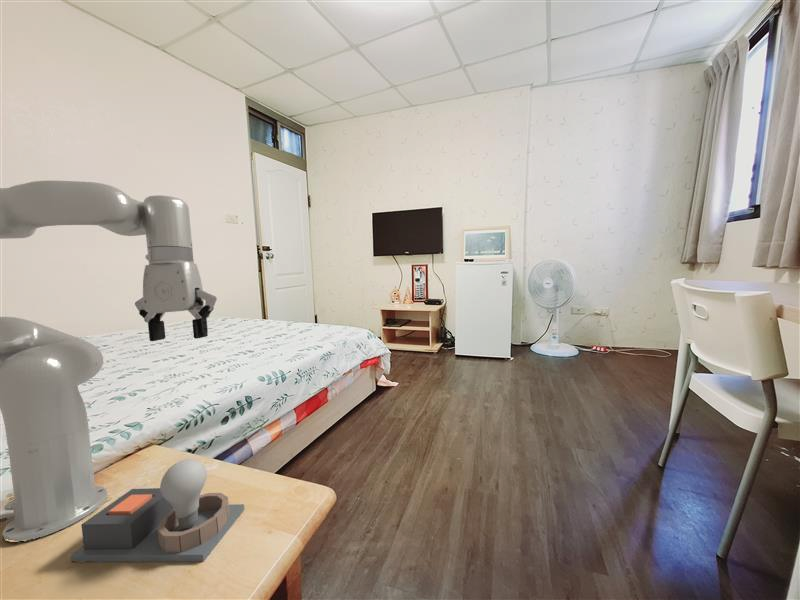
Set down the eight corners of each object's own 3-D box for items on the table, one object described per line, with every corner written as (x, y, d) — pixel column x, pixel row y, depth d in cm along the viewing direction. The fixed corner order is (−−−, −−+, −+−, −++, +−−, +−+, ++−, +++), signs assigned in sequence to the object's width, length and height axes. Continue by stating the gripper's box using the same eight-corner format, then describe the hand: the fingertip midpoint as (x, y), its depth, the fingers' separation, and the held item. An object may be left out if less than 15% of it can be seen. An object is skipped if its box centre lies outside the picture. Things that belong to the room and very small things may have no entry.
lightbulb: (188, 545, 45) (181, 474, 44) (155, 541, 46) (147, 472, 45) (219, 514, 51) (213, 451, 50) (190, 511, 52) (183, 450, 51)
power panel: (71, 562, 44) (67, 529, 44) (135, 511, 54) (132, 485, 54) (203, 561, 43) (200, 528, 43) (244, 509, 53) (241, 482, 53)
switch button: (110, 535, 47) (108, 511, 47) (133, 517, 51) (131, 494, 51) (133, 535, 47) (130, 511, 47) (154, 516, 51) (152, 494, 50)
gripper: (114, 259, 59) (123, 344, 59) (197, 252, 57) (205, 339, 58) (149, 262, 66) (156, 338, 67) (222, 256, 65) (229, 333, 66)
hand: (179, 338), depth 62 cm, fingers open, 9 cm apart
